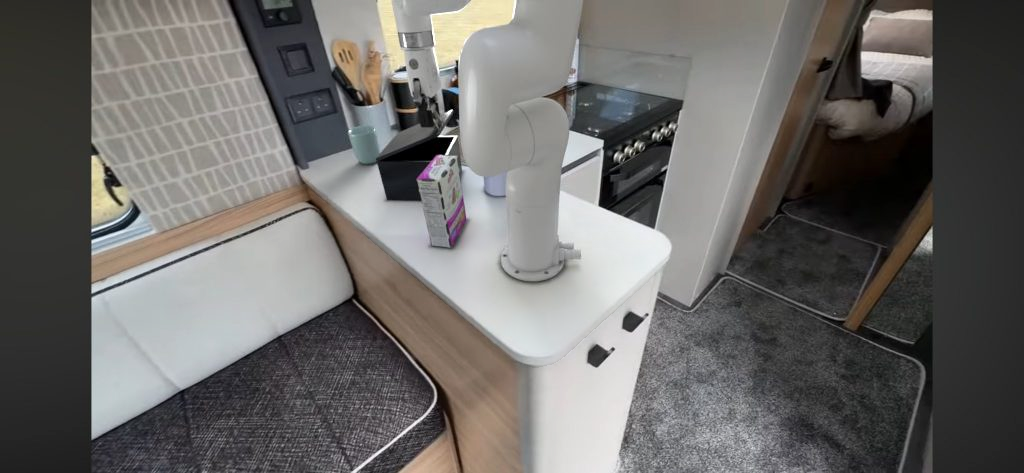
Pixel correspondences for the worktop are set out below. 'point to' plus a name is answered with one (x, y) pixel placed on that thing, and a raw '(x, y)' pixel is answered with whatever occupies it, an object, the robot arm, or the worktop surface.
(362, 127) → the cup
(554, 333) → the worktop surface
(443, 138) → the bin
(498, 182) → the soap bottle
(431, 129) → the bin lid
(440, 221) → the candy bar box
